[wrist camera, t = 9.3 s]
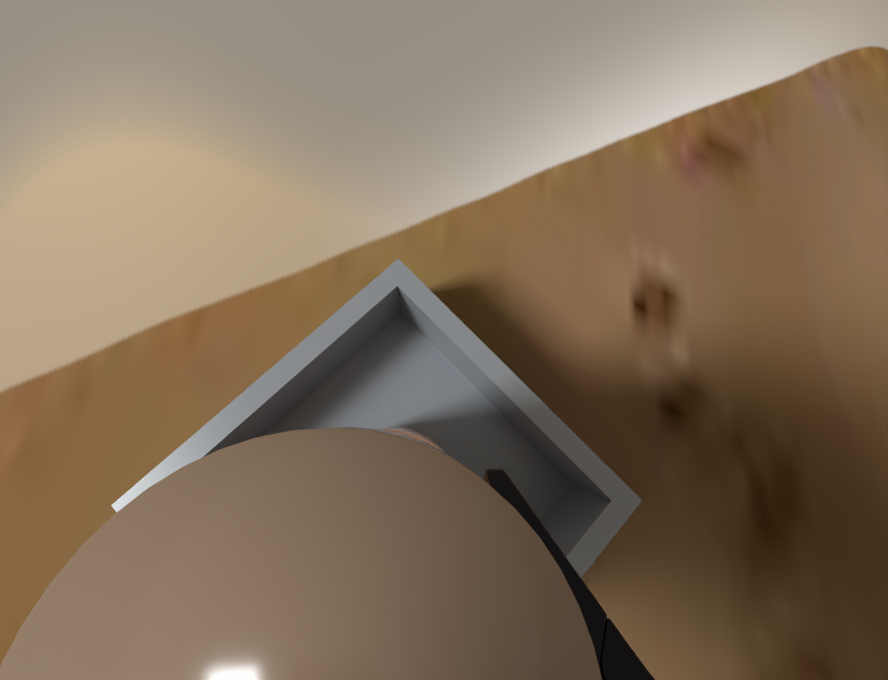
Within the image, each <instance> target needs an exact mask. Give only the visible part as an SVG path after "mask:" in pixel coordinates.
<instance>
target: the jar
mask: <svg viewBox="0 0 888 680" xmlns="http://www.w3.org/2000/svg"><path fill="white" fill-rule="evenodd" d="M0 680H602V678H601V673H600V669H599V665H598V661H597V657H596V653H595V649H594V645H593V642H592V640H591V637H590V634H589V631H588V629H587V626H586V623H585V620H584V618H583V615H582V612H581V609H580V607H579V605H578V603H577V601H576V599H575V597H574V595H573V593H572V591H571V589H570V587H569V585H568V583H567V581H566V579H565V577H564V575H563V573H562V571H561V569H560V567H559V566H558V564H557V563H556V561H555V560H554V558H553V557H552V555H551V554H550V552H549V551H548V549H547V548H546V546H545V544H544V543H543V541H542V540H541V538H540V537H539V536H538V535H537V533H536V532H535V531H534V530H533V529H532V528H531V526H530V525H529V524H528V523H527V522H526V521H525V519H524V518H523V517H522V516H521V515H520V514H519V512H518V511H517V510H516V509H515V508H514V507H513V506H512V505H511V504H510V503H509V502H507V501H506V500H505V499H504V498H503V497H502V496H501V495H500V494H499V493H498V492H496V491H495V490H494V489H493V488H492V487H491V486H490V485H489V484H488V483H486V482H485V481H484V480H483V479H482V478H481V477H479V476H478V475H477V474H476V473H475V472H473V471H472V470H471V469H470V468H468V467H467V466H465V465H464V464H462V463H461V462H460V461H458V460H457V459H455V458H454V457H452V456H451V455H449V454H447V453H446V452H445V451H444V450H443V449H442V448H441V447H440V446H439V445H438V444H436V443H435V442H434V441H433V440H432V439H430V438H429V437H428V436H426V435H424V434H422V433H420V432H418V431H415V430H412V429H408V428H402V427H390V428H382V429H372V428H357V427H339V428H322V429H306V430H292V431H287V432H281V433H276V434H271V435H266V436H261V437H256V438H253V439H250V440H247V441H244V442H241V443H238V444H235V445H232V446H229V447H225V448H222V449H219V450H217V451H215V452H213V453H211V454H209V455H207V456H204V457H202V458H200V459H198V460H196V461H194V462H192V463H189V464H187V465H185V466H183V467H181V468H180V469H178V470H177V471H175V472H173V473H172V474H170V475H168V476H167V477H165V478H164V479H162V480H160V481H159V482H157V483H155V484H154V485H152V486H151V487H149V488H147V489H146V490H145V491H144V492H142V493H141V494H140V495H139V496H137V497H136V498H135V499H133V500H132V501H131V502H130V503H128V504H127V505H126V506H124V507H123V508H122V509H121V510H119V511H118V512H117V513H115V514H114V515H113V516H112V517H111V518H110V519H109V520H108V521H107V522H106V523H105V524H104V525H103V526H102V527H101V528H100V529H99V530H98V531H97V532H95V533H94V534H93V535H92V536H91V537H90V538H89V539H88V540H87V541H86V542H85V543H84V544H83V545H82V546H81V547H80V548H79V549H78V551H77V552H76V553H75V554H74V555H73V557H72V558H71V559H70V560H69V561H68V563H67V564H66V565H65V566H64V567H63V569H62V570H61V571H60V572H59V573H58V575H57V576H56V577H55V578H54V579H53V581H52V582H51V583H50V584H49V586H48V587H47V589H46V590H45V592H44V593H43V595H42V596H41V598H40V599H39V601H38V602H37V604H36V605H35V607H34V608H33V610H32V611H31V613H30V614H29V616H28V617H27V619H26V620H25V621H24V623H23V624H22V626H21V628H20V630H19V632H18V634H17V636H16V638H15V639H14V641H13V643H12V645H11V647H10V649H9V651H8V652H7V654H6V656H5V658H4V660H3V662H2V664H1V666H0Z"/></svg>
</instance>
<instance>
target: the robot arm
mask: <svg viewBox="0 0 888 680" xmlns="http://www.w3.org/2000/svg"><path fill="white" fill-rule="evenodd" d="M484 481H485V482H486V483H488V484H489V485H490V486H491V487H492V488H493V489H494V490H495V491H496V492H498V493H499V494H500V495H501V496H502V497H503V498H504V499H505V500H506V501H507V502H509V503H510V504H511V505H512V506H513V507H514V508H515V509H516V510H517V511H518V512H519V514H520V515H521V516H522V517H523V518H524V519H525V521H526V522H527V523H528V524H529V525H530V526H531V528H532V529H533V530H534V531H535V532H536V533H537V535H538V536H539V537H540V538H541V540H542V541H543V543H544V544H545V546H546V548H547V549H548V551H549V552H550V554H551V555H552V557H553V558H554V560H555V561H556V563H557V564H558V566H559V567H560V569H561V571H562V573H563V575H564V577H565V579H566V581H567V583H568V585H569V587H570V589H571V591H572V593H573V595H574V597H575V599H576V601H577V603H578V605H579V607H580V609H581V612H582V615H583V618H584V620H585V623H586V626H587V629H588V631H589V634H590V637H591V640H592V642H593V645H594V649H595V653H596V657H597V661H598V665H599V669H600V673H601V678H602V680H655V679H654V678H653V677H652V675H651V674H650V673H649V672H648V670H647V669H646V668H645V666H644V665H643V664H642V662H641V661H640V660H639V658H638V657H637V656H636V654H635V653H634V652H633V650H632V649H631V648H630V646H629V645H628V643H627V642H626V641H625V639H624V638H623V637H622V635H621V634H620V632H619V631H618V630H617V628H616V627H615V625H614V624H613V622H612V621H611V620H610V619H609V618H607V615H606V613H605V611H604V610H603V609H602V607H601V606H600V604H599V603H598V602H597V600H596V599H595V597H594V596H593V595H592V593H591V592H590V590H589V589H588V588H587V586H586V585H585V583H584V582H583V580H582V579H581V578H580V576H579V575H578V573H577V572H576V571H575V569H574V568H573V566H572V565H571V564H570V562H569V561H568V559H567V558H566V557H565V555H564V554H563V552H562V551H561V550H560V548H559V547H558V545H557V544H556V542H555V541H554V540H553V538H552V537H551V535H550V534H549V533H548V531H547V530H546V528H545V527H544V526H543V524H542V523H541V521H540V520H539V519H538V517H537V516H536V514H535V513H534V512H533V510H532V509H531V507H530V506H529V504H528V503H527V502H526V500H525V499H524V497H523V496H522V495H521V493H520V492H519V490H518V489H517V488H516V486H515V485H514V483H513V482H512V481H511V479H510V478H509V476H508V475H507V474H506V472H505V471H504V470H503V469H487V470H486V471H485V475H484Z"/></svg>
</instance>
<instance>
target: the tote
mask: <svg viewBox="0 0 888 680" xmlns="http://www.w3.org/2000/svg"><path fill="white" fill-rule="evenodd" d="M339 427H357V428H372V429H382V428H390V427H402V428H408V429H412V430H415V431H418V432H420V433H422V434H424V435H426V436H428V437H429V438H430V439H432V440H433V441H434V442H435V443H436V444H438V445H439V446H440V447H441V448H442V449H443V450H444V451H445V452H446V453H447V454H449V455H451V456H452V457H454V458H455V459H457V460H458V461H460V462H461V463H462V464H464V465H465V466H467V467H468V468H470V469H471V470H472V471H473V472H475V473H476V474H477V475H478V476H479V477H481V478H482V479H483V480H484V475H485V471H486V470H487V469H503V470H504V471H505V472H506V474H507V475H508V476H509V478H510V479H511V481H512V482H513V483H514V485H515V486H516V488H517V489H518V490H519V492H520V493H521V495H522V496H523V497H524V499H525V500H526V502H527V503H528V504H529V506H530V507H531V509H532V510H533V512H534V513H535V514H536V516H537V517H538V519H539V520H540V521H541V523H542V524H543V526H544V527H545V528H546V530H547V531H548V533H549V534H550V535H551V537H552V538H553V540H554V541H555V542H556V544H557V545H558V547H559V548H560V550H561V551H562V552H563V554H564V555H565V557H566V558H567V559H568V561H569V562H570V564H571V565H572V566H573V568H574V569H575V571H576V572H577V573H578V575H579V576H580V578H582V577H583V575H584V574H585V573H586V571H587V570H588V569H589V568H590V566H591V565H592V564H593V563H594V561H595V560H596V559H597V557H598V556H599V555H600V554H601V552H602V551H603V550H604V549H605V547H606V546H607V545H608V543H609V542H610V541H611V540H612V538H613V537H614V536H615V535H616V533H617V532H618V531H619V529H620V528H621V527H622V526H623V524H624V523H625V522H626V521H627V519H628V518H629V517H630V515H631V514H632V513H633V512H634V510H635V509H636V508H637V507H638V505H639V504H640V503H641V501H642V499H641V498H640V497H639V496H638V495H637V494H636V493H635V492H634V491H633V490H632V489H630V488H629V487H628V486H627V485H626V484H625V483H624V482H623V481H622V480H621V479H620V478H619V477H618V476H617V475H616V474H615V473H614V472H613V471H612V470H611V469H610V468H609V467H608V466H607V465H606V464H605V463H604V462H603V461H602V460H601V459H600V458H599V457H598V456H597V455H596V454H595V453H594V452H593V451H592V450H591V449H590V448H589V447H588V446H587V445H586V444H585V443H584V442H583V441H582V440H581V439H580V438H579V437H578V436H577V435H576V434H575V433H574V432H573V431H572V430H571V429H570V428H569V427H568V426H567V425H566V424H565V423H564V422H563V421H562V420H561V419H560V418H559V417H558V416H557V415H556V414H555V413H554V412H553V411H552V410H551V409H550V408H549V407H548V406H547V405H546V404H545V403H544V402H543V401H542V400H541V399H540V398H539V397H538V396H537V395H536V394H535V393H534V392H533V391H532V390H530V389H529V388H528V387H527V386H526V385H525V384H524V383H523V382H522V381H521V380H520V379H519V378H518V377H517V376H516V375H515V374H514V373H513V372H512V371H511V370H510V369H509V368H508V367H507V366H506V365H505V364H504V363H503V362H502V361H501V360H500V359H499V358H498V357H497V356H496V355H495V354H494V353H493V352H492V351H491V350H490V349H489V348H488V347H487V346H486V345H485V344H484V343H483V342H482V341H481V340H480V339H479V338H478V337H477V336H476V335H475V334H474V333H473V332H472V331H471V330H470V329H469V328H468V327H467V326H466V325H465V324H464V323H463V322H462V321H461V320H460V319H459V318H458V317H457V316H456V315H455V314H454V313H453V312H452V311H451V310H450V309H449V308H448V307H447V306H446V305H445V304H444V303H443V302H442V301H441V300H440V299H439V298H438V297H437V296H436V295H435V294H434V293H433V292H431V291H430V290H429V289H428V288H427V287H426V286H425V285H424V284H423V283H422V282H421V281H420V280H419V279H418V278H417V277H416V276H415V275H414V274H413V273H412V272H411V271H410V270H409V269H408V268H407V267H406V266H405V265H404V264H403V263H402V262H401V261H400V260H399V259H397V260H396V261H395V262H394V263H393V264H391V265H390V266H389V267H388V268H387V269H386V270H384V271H383V272H382V273H381V274H380V275H379V276H377V277H376V278H375V279H374V280H373V281H372V282H371V283H369V284H368V285H367V286H366V287H365V288H364V289H362V290H361V291H360V292H359V293H358V294H357V295H355V296H354V297H353V298H352V299H351V300H350V301H348V302H347V303H346V304H345V305H344V306H343V307H341V308H340V309H339V310H338V311H337V312H336V313H334V314H333V315H332V316H331V317H330V318H329V319H327V320H326V321H325V322H324V323H323V324H322V325H320V326H319V327H318V328H317V329H316V330H315V331H314V332H312V333H311V334H310V335H309V336H308V337H307V338H305V339H304V340H303V341H302V342H301V343H300V344H298V345H297V346H296V347H295V348H294V349H293V350H291V351H290V352H289V353H288V354H287V355H286V356H284V357H283V358H282V359H281V360H280V361H279V362H277V363H276V364H275V365H274V366H273V367H272V368H270V369H269V370H268V371H267V372H266V373H265V374H264V375H262V376H261V377H260V378H259V379H258V380H257V381H255V382H254V383H253V384H252V385H251V386H250V387H248V388H247V389H246V390H245V391H244V392H243V393H241V394H240V395H239V396H238V397H237V398H236V399H234V400H233V401H232V402H231V403H230V404H229V405H227V406H226V407H225V408H224V409H223V410H222V411H220V412H219V413H218V414H217V415H216V416H215V417H213V418H212V419H211V420H210V421H209V422H208V423H207V424H205V425H204V426H203V427H202V428H201V429H200V430H198V431H197V432H196V433H195V434H194V435H193V436H191V437H190V438H189V439H188V440H187V441H186V442H184V443H183V444H182V445H181V446H180V447H179V448H177V449H176V450H175V451H174V452H173V453H172V454H170V455H169V456H168V457H167V458H166V459H165V460H163V461H162V462H161V463H160V464H159V465H158V466H157V467H155V468H154V469H153V470H152V471H151V472H150V473H148V474H147V475H146V476H145V477H144V478H143V479H141V480H140V481H139V482H138V483H137V484H136V485H134V486H133V487H132V488H131V489H130V490H129V491H127V492H126V493H125V494H124V495H123V496H122V497H120V498H119V499H118V500H117V501H116V502H115V503H113V504H112V505H111V506H112V507H113V508H114V510H115V511H116V512H118V511H119V510H121V509H122V508H123V507H124V506H126V505H127V504H128V503H130V502H131V501H132V500H133V499H135V498H136V497H137V496H139V495H140V494H141V493H142V492H144V491H145V490H146V489H147V488H149V487H151V486H152V485H154V484H155V483H157V482H159V481H160V480H162V479H164V478H165V477H167V476H168V475H170V474H172V473H173V472H175V471H177V470H178V469H180V468H181V467H183V466H185V465H187V464H189V463H192V462H194V461H196V460H198V459H200V458H202V457H204V456H207V455H209V454H211V453H213V452H215V451H217V450H219V449H222V448H225V447H229V446H232V445H235V444H238V443H241V442H244V441H247V440H250V439H253V438H256V437H261V436H266V435H271V434H276V433H281V432H287V431H292V430H306V429H322V428H339Z"/></svg>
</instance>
